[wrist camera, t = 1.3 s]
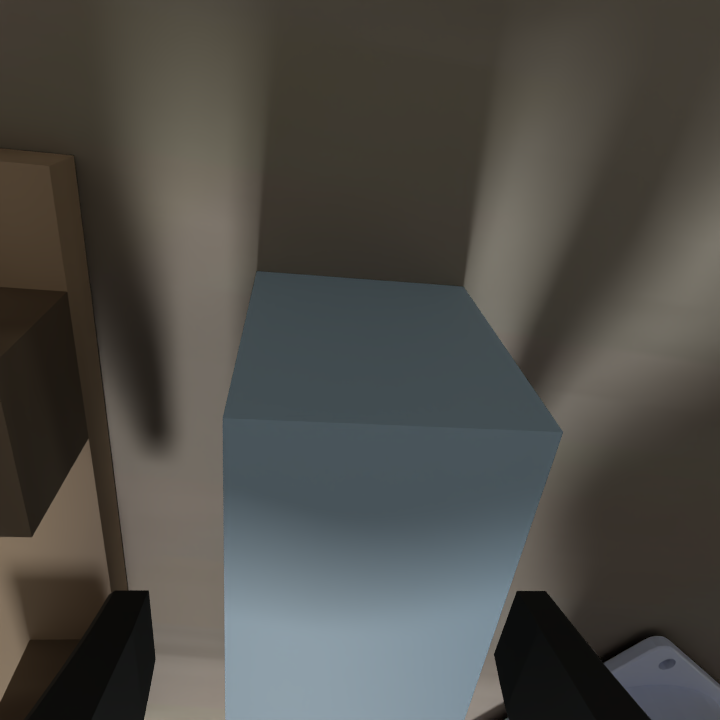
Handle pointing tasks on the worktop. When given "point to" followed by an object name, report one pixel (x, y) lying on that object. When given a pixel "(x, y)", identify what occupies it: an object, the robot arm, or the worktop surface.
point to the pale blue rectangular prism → (371, 498)
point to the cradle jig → (49, 433)
